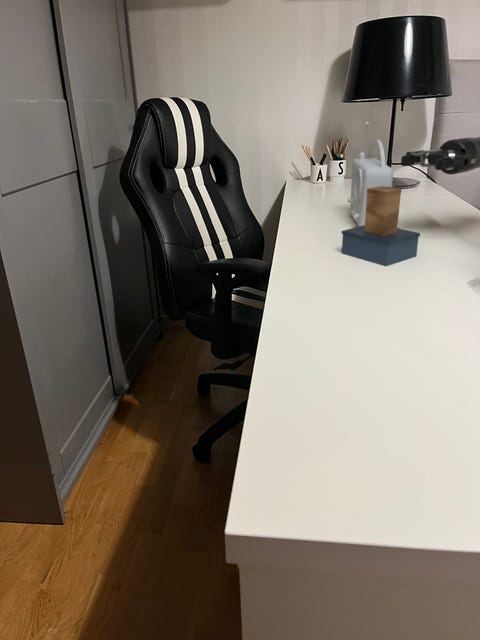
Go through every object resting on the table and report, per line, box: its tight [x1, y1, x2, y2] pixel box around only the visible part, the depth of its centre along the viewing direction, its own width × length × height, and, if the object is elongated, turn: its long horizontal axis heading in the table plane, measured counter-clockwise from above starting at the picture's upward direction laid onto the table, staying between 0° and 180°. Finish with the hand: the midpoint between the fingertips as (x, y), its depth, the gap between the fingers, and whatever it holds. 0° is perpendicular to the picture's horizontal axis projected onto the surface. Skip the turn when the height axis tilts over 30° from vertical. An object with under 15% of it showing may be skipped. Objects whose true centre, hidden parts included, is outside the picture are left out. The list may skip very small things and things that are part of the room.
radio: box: [347, 121, 394, 227], centre depth 129 cm, size 22×8×25 cm, turn 177°
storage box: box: [341, 225, 421, 267], centre depth 107 cm, size 12×10×5 cm
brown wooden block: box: [364, 186, 402, 236], centre depth 104 cm, size 5×5×9 cm
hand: (419, 162), depth 106 cm, fingers open, 8 cm apart
